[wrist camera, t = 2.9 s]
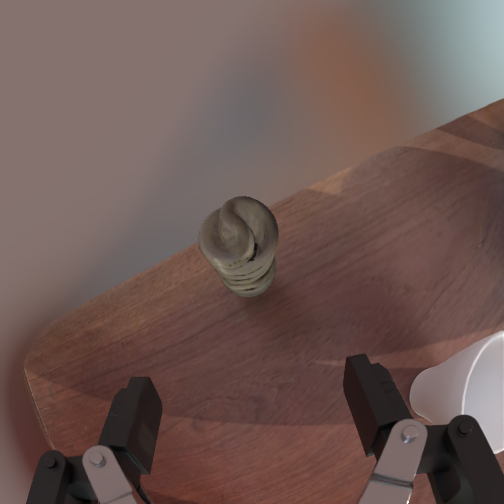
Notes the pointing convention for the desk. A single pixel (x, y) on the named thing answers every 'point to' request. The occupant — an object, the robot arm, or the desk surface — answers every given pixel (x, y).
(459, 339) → the desk surface
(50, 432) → the desk surface
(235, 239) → the light bulb
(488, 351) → the cup
